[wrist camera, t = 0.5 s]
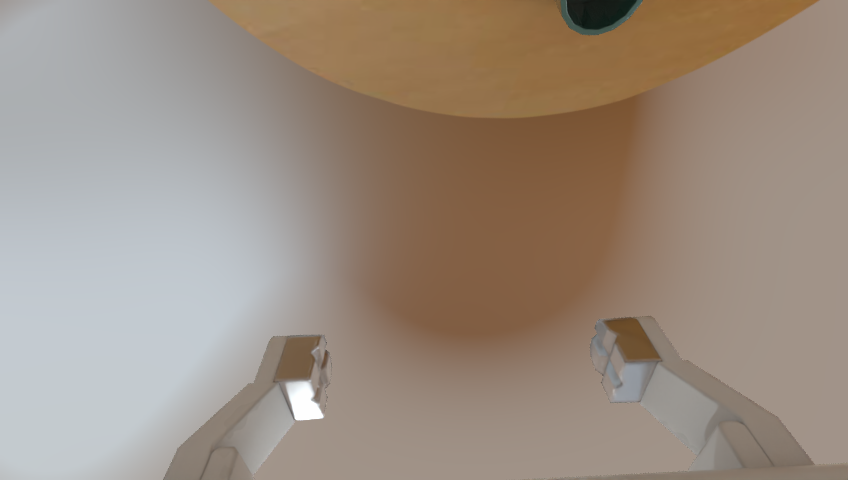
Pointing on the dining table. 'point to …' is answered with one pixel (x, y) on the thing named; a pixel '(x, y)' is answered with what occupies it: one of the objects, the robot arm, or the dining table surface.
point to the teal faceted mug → (596, 14)
